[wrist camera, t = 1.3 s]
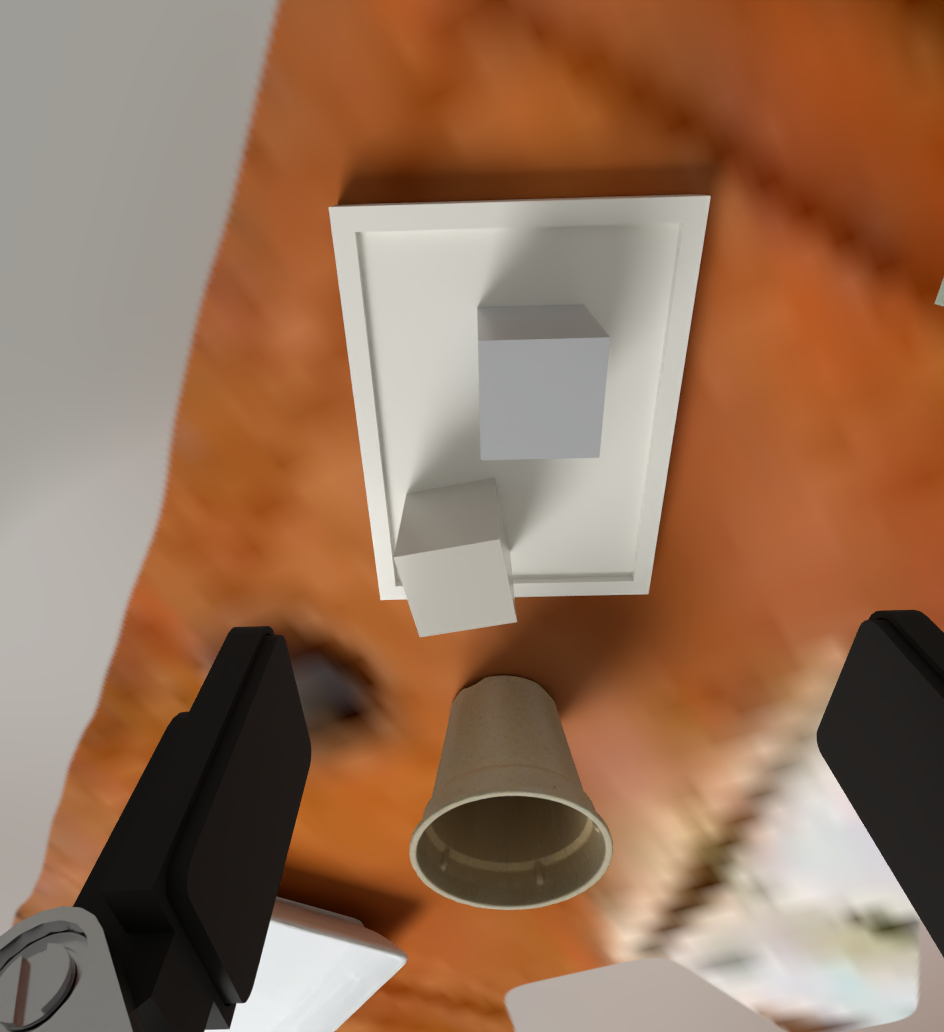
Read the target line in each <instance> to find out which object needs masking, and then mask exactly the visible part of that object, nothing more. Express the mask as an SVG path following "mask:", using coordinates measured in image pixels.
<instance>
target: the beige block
mask: <svg viewBox="0 0 944 1032" xmlns="http://www.w3.org/2000/svg"><path fill="white" fill-rule="evenodd" d="M394 560H395V563H396V566H397V569H398V572H399V575H400V578H401V582H402V585H403V588H404V591H405V594H406V597H407V600H408V603H409V606H410V609H411V612H412V615H413V618H414V621H415V624H416V627H417V630H418V633H419V636H420V637H424V636H431V635H437V634H444V633H450V632H457V631H463V630H469V629H476V628H482V627H489V626H495V625H501V624H508V623H514V622H517V615H516V605H515V595H514V585H513V575H512V565H511V555H510V549H509V544H508V539H507V534H506V529H505V524H504V519H503V514H502V510H501V505H500V500H499V495H498V490H497V485H496V480H495V478H489V479H484V480H478V481H473V482H467V483H461V484H456V485H450V486H445V487H439V488H434V489H428V490H423V491H417V492H412V493H406V498H405V503H404V508H403V513H402V518H401V523H400V528H399V533H398V538H397V543H396V548H395V553H394Z"/></svg>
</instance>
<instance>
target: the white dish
mask: <svg viewBox="0 0 944 1032" xmlns="http://www.w3.org/2000/svg"><path fill="white" fill-rule="evenodd" d="M710 198H711V196H709V195H701V194H684V195H650V196H616V197H583V198H549V199H516V200H482V201H449V202H415V203H381V204H348V205H334V206H331V207H329V214H330V221H331V229H332V236H333V244H334V251H335V259H336V266H337V274H338V282H339V289H340V297H341V304H342V312H343V319H344V327H345V335H346V342H347V350H348V357H349V365H350V372H351V380H352V387H353V395H354V403H355V410H356V418H357V425H358V433H359V440H360V448H361V456H362V463H363V471H364V478H365V486H366V493H367V501H368V508H369V516H370V524H371V531H372V539H373V546H374V554H375V561H376V569H377V577H378V584H379V592H380V599H381V600H398V599H407V597H406V594H405V591H404V588H403V585H402V582H401V578H400V575H399V572H398V569H397V566H396V563H395V560H394V553H395V548H396V543H397V538H398V533H399V528H400V523H401V518H402V513H403V508H404V503H405V498H406V493H412V492H417V491H423V490H428V489H434V488H439V487H445V486H450V485H456V484H461V483H467V482H473V481H478V480H484V479H489V478H495V480H496V485H497V490H498V495H499V500H500V505H501V510H502V514H503V519H504V524H505V529H506V534H507V539H508V544H509V549H510V555H511V565H512V575H513V585H514V595H515V597H540V596H588V595H635V594H649V587H650V581H651V575H652V568H653V562H654V555H655V549H656V543H657V536H658V530H659V524H660V517H661V511H662V504H663V498H664V492H665V485H666V479H667V472H668V466H669V460H670V453H671V447H672V441H673V434H674V428H675V421H676V415H677V409H678V402H679V396H680V389H681V383H682V377H683V370H684V364H685V358H686V351H687V345H688V338H689V332H690V326H691V319H692V313H693V306H694V300H695V294H696V287H697V281H698V275H699V268H700V262H701V255H702V249H703V243H704V236H705V230H706V223H707V217H708V211H709V204H710ZM575 304H584V305H585V307H586V308H587V309H588V310H589V312H590V313H591V314H592V315H593V317H594V318H595V319H596V320H597V322H598V323H599V324H600V325H601V326H602V328H603V329H604V330H605V331H606V333H607V334H608V335H609V336H610V346H609V357H608V368H607V379H606V390H605V401H604V412H603V423H602V434H601V445H600V456H599V458H563V459H521V460H481V451H480V418H479V376H478V328H477V307H502V306H538V305H575Z"/></svg>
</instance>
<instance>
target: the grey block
mask: <svg viewBox="0 0 944 1032" xmlns="http://www.w3.org/2000/svg"><path fill="white" fill-rule="evenodd" d="M477 328H478V376H479V418H480V451H481V460H521V459H563V458H599V456H600V445H601V434H602V423H603V412H604V401H605V390H606V379H607V368H608V357H609V346H610V336H609V335H608V334H607V333H606V331H605V330H604V329H603V328H602V326H601V325H600V324H599V323H598V322H597V320H596V319H595V318H594V317H593V315H592V314H591V313H590V312H589V310H588V309H587V308H586V307H585V305H584V304H575V305H538V306H502V307H477Z"/></svg>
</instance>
